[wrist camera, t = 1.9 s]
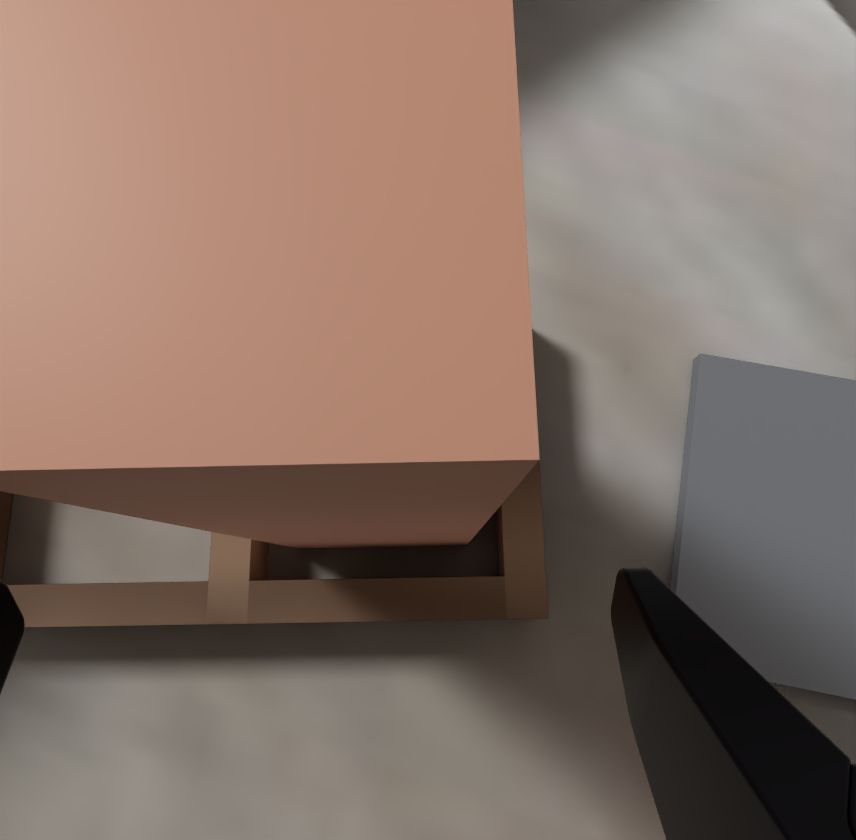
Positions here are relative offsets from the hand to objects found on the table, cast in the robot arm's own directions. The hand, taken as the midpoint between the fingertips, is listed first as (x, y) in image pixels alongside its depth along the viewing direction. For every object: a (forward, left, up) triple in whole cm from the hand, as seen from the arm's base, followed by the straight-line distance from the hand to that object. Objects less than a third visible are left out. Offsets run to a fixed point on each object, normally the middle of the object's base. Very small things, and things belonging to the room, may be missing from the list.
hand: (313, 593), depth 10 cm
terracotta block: (+4, -1, -12) cm, 12 cm away
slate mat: (-1, -15, -12) cm, 19 cm away
